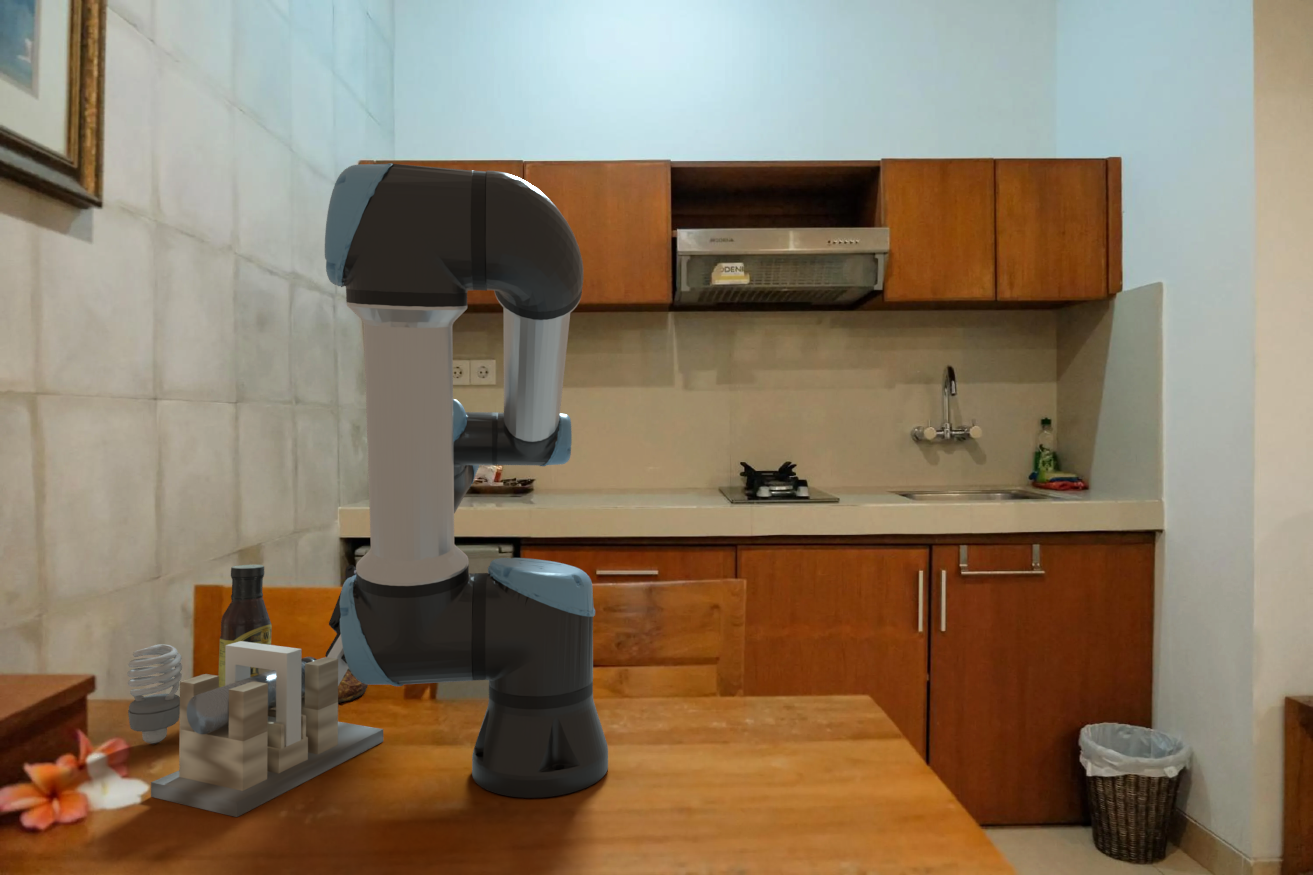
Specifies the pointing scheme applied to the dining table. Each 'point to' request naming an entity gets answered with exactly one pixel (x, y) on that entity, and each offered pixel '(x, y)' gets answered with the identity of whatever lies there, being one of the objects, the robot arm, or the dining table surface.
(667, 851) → the dining table surface
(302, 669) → the shaft
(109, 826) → the dining table surface
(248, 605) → the sauce bottle
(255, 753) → the grey block assembly base
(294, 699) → the grey arch-shaped block
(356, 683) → the bread roll
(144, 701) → the light bulb
